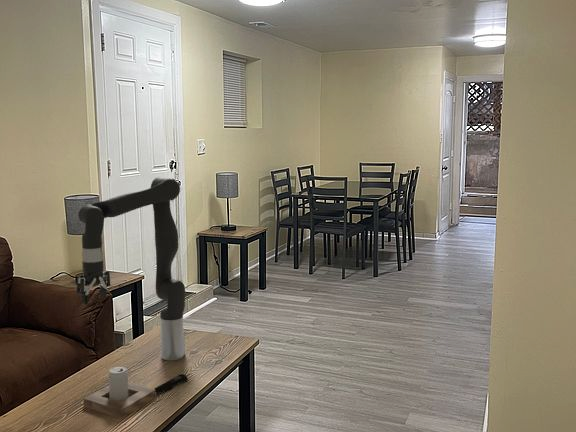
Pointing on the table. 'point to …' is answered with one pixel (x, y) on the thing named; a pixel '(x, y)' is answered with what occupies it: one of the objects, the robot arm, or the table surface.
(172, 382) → the electric trimmer
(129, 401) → the hole board
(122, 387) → the beverage can
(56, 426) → the table surface
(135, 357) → the table surface
